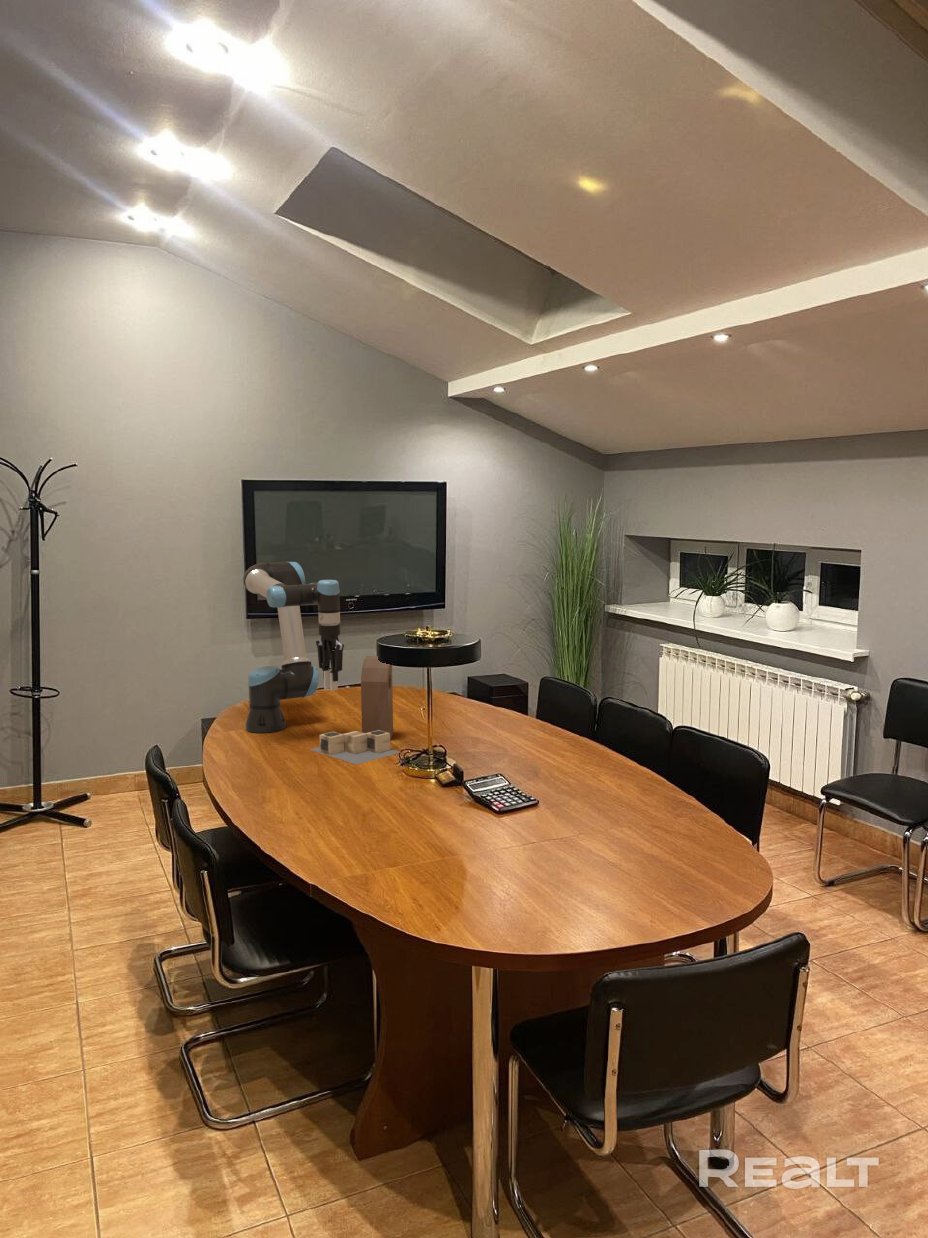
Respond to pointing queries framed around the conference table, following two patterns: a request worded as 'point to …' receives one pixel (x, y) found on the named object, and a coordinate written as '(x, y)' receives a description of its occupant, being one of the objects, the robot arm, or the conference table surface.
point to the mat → (359, 755)
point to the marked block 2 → (378, 741)
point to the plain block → (355, 742)
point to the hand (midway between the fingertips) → (331, 689)
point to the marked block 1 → (331, 743)
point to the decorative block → (376, 696)
